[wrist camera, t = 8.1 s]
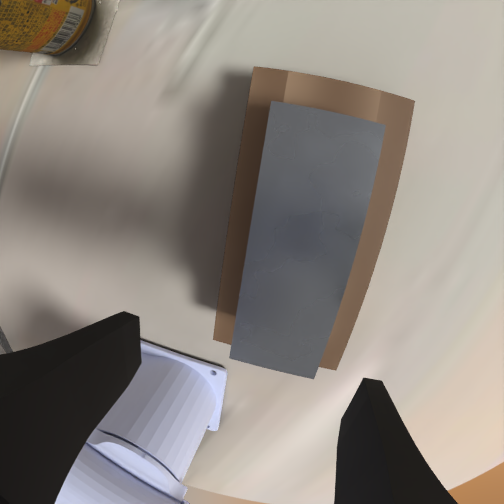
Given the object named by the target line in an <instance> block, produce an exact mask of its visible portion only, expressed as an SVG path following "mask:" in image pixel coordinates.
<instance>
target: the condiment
mask: <svg viewBox="0 0 504 504" xmlns="http://www.w3.org/2000/svg"><path fill="white" fill-rule="evenodd" d="M99 1H100V0H98V1H97V0H0V49H2V50H13V51H23V52H30V53H32V56H31V60H30V65H29V66H38V65H65V64H69V65H85V64H88V65H98V64H99V61H100V57H101V54H102V52H103V50H104V46H105V43H106V40H107V36H108V33H109V31H110V28H111V25H112V22H113V19H114V16H115V13H116V11H117V10H118V4H119V0H101V4H100V3H99ZM75 48H76V49H75Z"/></svg>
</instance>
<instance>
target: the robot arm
mask: <svg viewBox="0 0 504 504" xmlns="http://www.w3.org/2000/svg"><path fill="white" fill-rule="evenodd" d="M212 370H214V371H216V372H213V371H212ZM226 380H227V371H226V369H224V368H222V367H219V366H216V365H213V364H209V363H206V362H203V361H200V360H197V359H194V358H191V357H187V356H184V355H181V354H178V353H176V352H173V351H170V350H167V349H164V348H161V347H158V346H156V345H153V344H150V343H147V342H145V341H142V340H140V321H139V317H138V316H136V315H133V314H130V313H127V312H125V311H123V312H120V313H118V314H115V315H113V316H110V317H108V318H106V319H103V320H101V321H99V322H96V323H94V324H92V325H89V326H87V327H85V328H82V329H80V330H77V331H75V332H73V333H70V334H68V335H65V336H63V337H60V338H57V339H54V340H52V341H49V342H46V343H43V344H41V345H38V346H34V347H31V348H28V349H24V350H20V351H16V352H12V353H7V354H1V355H0V504H190V503H189V502H187V501H186V500H184V499H183V497H184V495H185V493H186V491H187V487H186V486H184V485H182V484H181V483H182V481H183V479H184V477H185V474H186V472H187V470H188V468H189V466H190V464H191V462H192V459H193V457H194V455H195V453H196V451H197V449H198V446H199V444H200V442H201V440H202V438H203V435H204V433H205V431H206V429H209V430H212V431H216V430H218V427H219V422H220V416H221V410H222V404H223V398H224V392H225V386H226ZM334 504H458V503H457V502H456V501H455V500H454V499H453V497H452V496H451V495H450V494H449V493H448V491H447V490H446V489H445V488H444V486H443V485H442V484H441V482H440V481H439V480H438V478H437V477H436V475H435V474H434V473H433V471H432V470H431V468H430V467H429V466H428V464H427V462H426V461H425V459H424V458H423V456H422V454H421V453H420V451H419V450H418V448H417V446H416V445H415V443H414V441H413V439H412V438H411V436H410V434H409V432H408V430H407V428H406V427H405V425H404V423H403V421H402V419H401V417H400V415H399V413H398V411H397V409H396V407H395V405H394V403H393V402H392V400H391V398H390V396H389V394H388V392H387V390H386V388H385V386H384V384H383V382H382V381H380V380H374V379H368V378H363V380H362V382H361V384H360V386H359V387H358V389H357V391H356V393H355V395H354V397H353V399H352V401H351V403H350V404H349V406H348V408H347V410H346V412H345V413H344V415H343V417H342V419H341V424H340V431H339V437H338V444H337V461H336V483H335V501H334Z"/></svg>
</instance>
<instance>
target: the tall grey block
mask: <svg viewBox="0 0 504 504" xmlns="http://www.w3.org/2000/svg"><path fill="white" fill-rule="evenodd" d="M385 127H386V125H384V124H380V123H377V122H373V121H369V120H365V119H361V118H357V117H353V116H349V115H344V114H340V113H336V112H331V111H326V110H321V109H316V108H311V107H306V106H300V105H295V104H289V103H283V102H276V101H271V105H270V111H269V117H268V123H267V129H266V135H265V141H264V147H263V153H262V159H261V165H260V171H259V177H258V183H257V189H256V196H255V202H254V208H253V214H252V220H251V226H250V232H249V238H248V245H247V251H246V257H245V263H244V269H243V275H242V282H241V288H240V294H239V300H238V307H237V313H236V319H235V325H234V332H233V338H232V344H231V351H230V357H229V358H231V359H234V360H238V361H241V362H245V363H249V364H253V365H256V366H260V367H264V368H268V369H272V370H276V371H280V372H284V373H289V374H293V375H297V376H302V377H306V378H311V379H314V377H315V375H316V372H317V370H318V367H319V364H320V362H321V359H322V356H323V353H324V351H325V348H326V345H327V342H328V340H329V337H330V334H331V331H332V328H333V325H334V322H335V319H336V316H337V313H338V310H339V307H340V304H341V301H342V298H343V295H344V292H345V288H346V285H347V282H348V279H349V275H350V272H351V269H352V265H353V262H354V258H355V255H356V251H357V248H358V244H359V241H360V237H361V233H362V229H363V226H364V222H365V218H366V214H367V210H368V206H369V202H370V198H371V194H372V189H373V185H374V181H375V176H376V172H377V167H378V162H379V158H380V153H381V148H382V143H383V138H384V132H385Z"/></svg>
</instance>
